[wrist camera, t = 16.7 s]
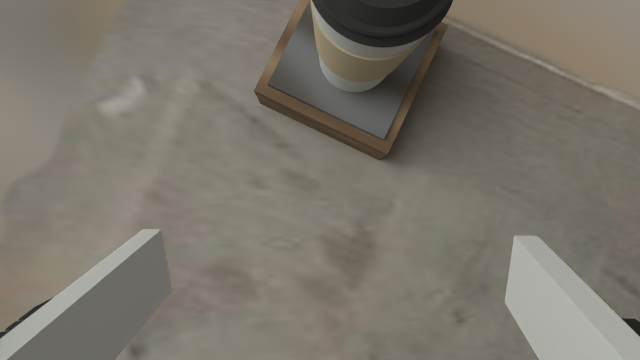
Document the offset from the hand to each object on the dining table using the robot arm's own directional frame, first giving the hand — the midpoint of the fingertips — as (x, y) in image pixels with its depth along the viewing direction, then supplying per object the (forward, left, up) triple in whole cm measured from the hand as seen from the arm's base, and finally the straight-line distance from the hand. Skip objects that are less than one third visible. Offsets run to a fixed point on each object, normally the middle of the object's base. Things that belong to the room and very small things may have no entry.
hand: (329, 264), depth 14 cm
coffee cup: (-9, -14, -20) cm, 25 cm away
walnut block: (-8, -14, -24) cm, 29 cm away
